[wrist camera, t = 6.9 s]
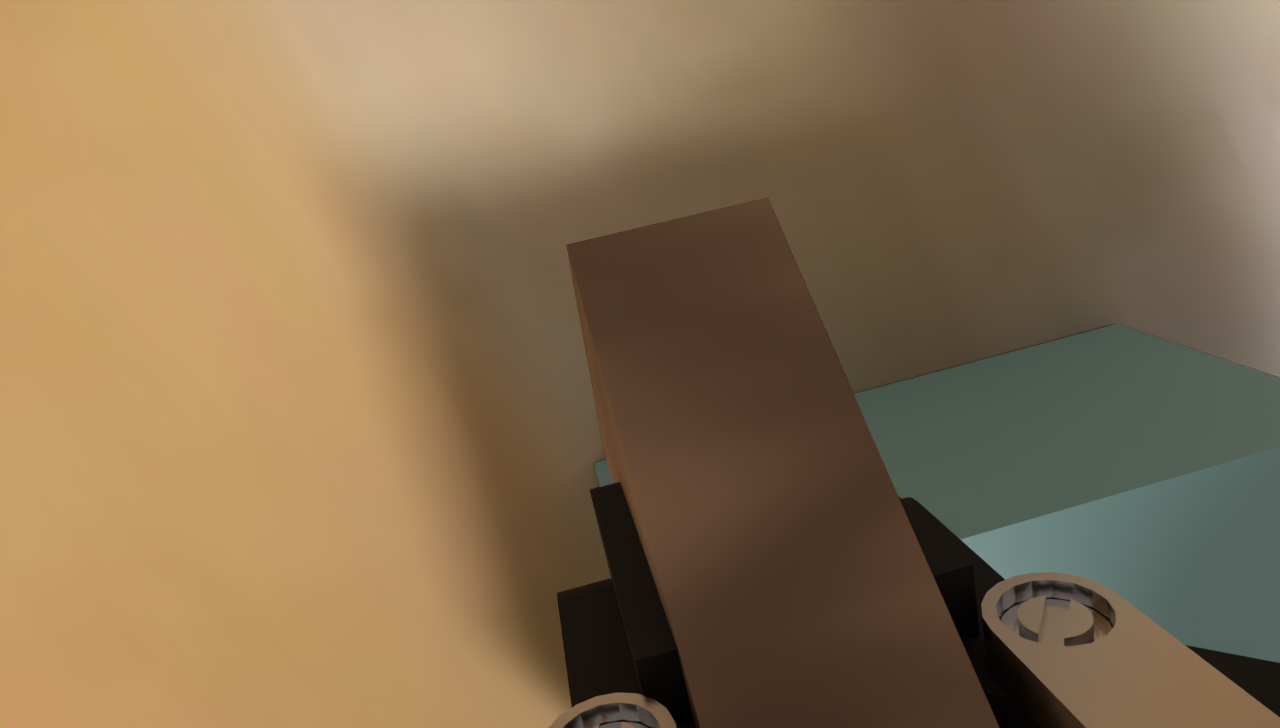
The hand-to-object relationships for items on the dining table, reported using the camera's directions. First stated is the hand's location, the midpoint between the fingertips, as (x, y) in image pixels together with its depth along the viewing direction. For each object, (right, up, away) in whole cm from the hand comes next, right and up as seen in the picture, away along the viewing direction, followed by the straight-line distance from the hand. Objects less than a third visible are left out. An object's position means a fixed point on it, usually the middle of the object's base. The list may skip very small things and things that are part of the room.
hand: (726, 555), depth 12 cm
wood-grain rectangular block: (-1, +3, 0) cm, 3 cm away
